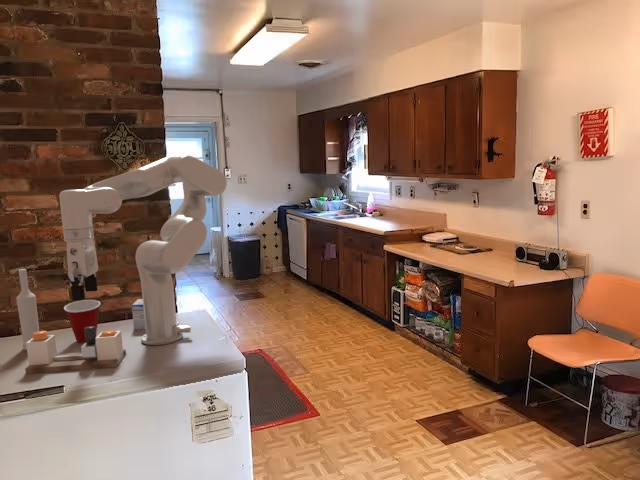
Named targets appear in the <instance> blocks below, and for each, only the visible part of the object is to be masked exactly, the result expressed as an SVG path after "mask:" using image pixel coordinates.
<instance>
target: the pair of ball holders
mask: <svg viewBox="0 0 640 480" xmlns="http://www.w3.org/2000/svg"><path fill="white" fill-rule="evenodd" d="M114 331H115V335H114V336H110V337H102V335H101V333H102V332H103V331H101V332H100V333H99V334H98V335H96V338H95V339H96V348H97V357H98V360H111V359H118V361H119V362H118V365H119V364H120V362H121V361H122V360H123V359H124V358H125V356H124V354H122V353H123V350H124V348H123V347H124V346H123V337H122V330H114ZM47 336H48V339H47V340H44V341H36V342H34V341H33V338H32V339H31V340H29V341H28V342H27V343H26V346H27V350H26V351H27V360H28V366H29V365H40V364H50V363H51V362H52V361H53V360H54V357H55V356H57V354H58V352H57V343H56V337H55V334H51V335H48V334H47ZM122 357H123V358H122ZM119 359H120V360H121V359H122V360H121V361H120V360H119Z"/></svg>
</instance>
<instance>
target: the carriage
mask: <svg viewBox="0 0 640 480" xmlns="http://www.w3.org/2000/svg"><path fill="white" fill-rule="evenodd" d="M84 330H85V338H86V343H84V344H83V345H82V346H80V349H81V352H82V357H96V356H97V348H96V339H95V338H96V337H97V334H96V330H95V326H89V327H86V328H84Z"/></svg>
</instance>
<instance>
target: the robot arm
mask: <svg viewBox="0 0 640 480" xmlns="http://www.w3.org/2000/svg"><path fill="white" fill-rule="evenodd" d="M227 182H228V181H227V178H226V176H225V174H224V173H223V172H222V171H220V170H219V169H217V168H216V167H215V166H212V165H210V164H208V163H207V162H205V161H203V160H200V159H198V158H196V157H194V156H192V155H189V154H178V155H168V156H166V157H163V158H161V159H158V160H155V161H153V162H151V163H148V164H146V165H143V166H141V167H138V168H136V169H133V170H130V171H126V172H124V173H120V174H119V175H115V176H112V177H108V178H106V179H103V180H100V181H98V182H95V183H93V184H91V185H88V186H86V187H84V188H83V189H82V188H81V189H76V188H75V189H65V190H62V191H61V192H60V193H59V205H60V215H61V222H62V223H61V224H62V231H63V240H64V241H63V242H66V261H67V262H66V263H67V270H68V272H67V276H68V280H69V285H70V289H71V292H70V293H71V299H72V301H82V300H86V294H85V292H97V291H98V281H97V272H98V270H99V263H98V256H97V251H96V250H97V249H96V244H95V241H94V239H95V234H94V225H93V214H104V215H108V214H112V213H115V212H117V211H118V210H119V209H120V208H121V206H122V204H123V203H122V202H123V201H125V200H130V199H138V198H142V197H147V196H150V195H153V194H155V193H157V192H159V191H161V190H164V189H166V188H167V187H170V186H171V185H173V184H174V185H175V184H177V183H182V190H183V201H182V203H181V205H179V207H178V208H177V209H176V211H175V212H174V213H173V214H172V215H171V216H170V217H169V218H168V219H167V220H166V222H165V223H164V224H163V225H162V227H161V229H160V233H159V235H160V238H161V240H153V239H152V240H147V241H144V242H142V243H141V244H139V246H138V247H137V248H136V251H135V263H136V267H137V271H138V274H139V280H140V283H141V294H142V295H141V296H142V299H143V307H144V317H145V327H146V329H145V334H143V335H142V336H141V342H142V344H144V345H147V346H148V345H149V346H160V345H167V344H171V343H175V342H177V341H179V340H181V339H183V333H184V334H188V333H189V334H190V333H191V332H192V327H191V325H190V326H189V325H188V324H186V325H181V324H180V321H178V320H177V313H176V301H175V290H174V281H173V278H172V277H173V276H172V275H173V274H177V273H180V272H181V271H182V270H183V269H184V268H186V266H188V264H189V263H190V262H191V260H192V259H193V258H194V257H195V255H197V253H198V252H199V251H200V249H201V248H202V247H203V245H204V244H205V242H206V239H207V236H208V230H207V226H206V224H205V223H204V221H203V220H204V219H205V217H206V215H207V201H206V197H215V196H216V197H217V196H219V195H222V194H223V193H224V192H225V191H226V188H227V184H228V183H227ZM83 282H84V284H83Z"/></svg>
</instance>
